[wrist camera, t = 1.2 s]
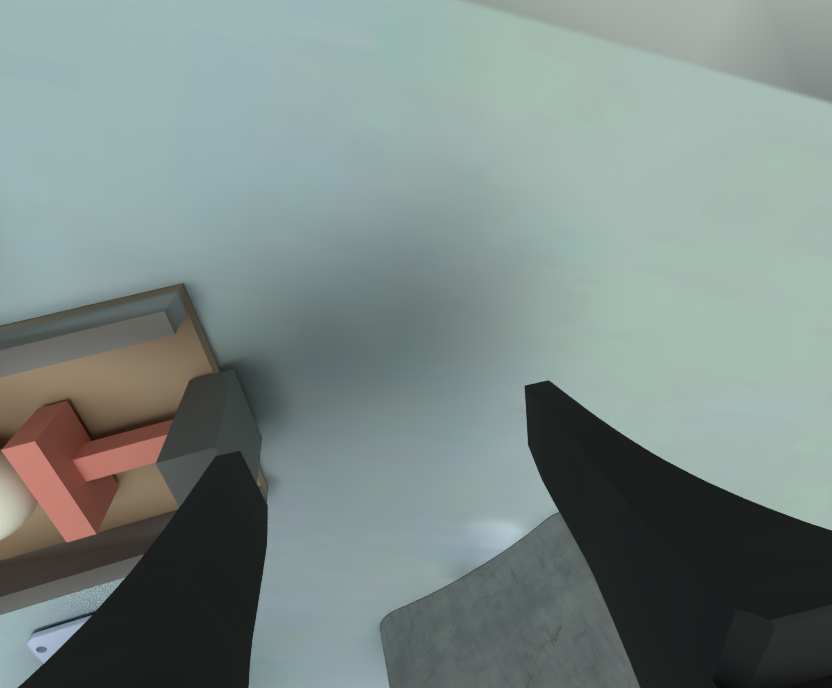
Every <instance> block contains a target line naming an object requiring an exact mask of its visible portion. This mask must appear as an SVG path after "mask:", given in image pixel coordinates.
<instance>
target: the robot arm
mask: <svg viewBox="0 0 832 688" xmlns="http://www.w3.org/2000/svg"><path fill="white" fill-rule="evenodd" d="M525 399H526V416H527V433H528V446H529V448H530V451H531V453H532V456H533V459H534V461H535V464H536V466H537V469H538V471H539V473H540V476H541V478H542V481H543V483H544V484H545V486H546V488H547V490H548V492H549V494H550V496H551V497H552V499H553V501H554V503H555V505H556V507H557V508H558V510H559V512H560V514H561V516H562V518H563V519H564V521H565V523H566V525H567V527H568V528H569V530H570V532H571V534H572V536H573V538H574V539H575V541H576V543H577V545H578V547H579V548H580V550H581V552H582V554H583V556H584V558H585V560H586V562H587V564H588V566H589V568H590V570H591V572H592V574H593V576H594V578H595V580H596V583H597V585H598V587H599V589H600V592H601V594H602V596H603V599H604V601H605V603H606V606H607V608H608V610H609V613H610V615H611V617H612V620H613V622H614V625H615V627H616V629H617V632H618V634H619V637H620V639H621V641H622V644H623V646H624V649H625V651H626V653H627V656H628V658H629V661H630V663H631V666H632V668H633V671H634V673H635V676H636V679H637V681H638V684H639V686H640V688H832V530H828V529H825V528H822V527H819V526H816V525H813V524H810V523H807V522H804V521H801V520H799V519H796V518H793V517H790V516H788V515H785V514H782V513H780V512H777V511H774V510H772V509H769V508H766V507H764V506H761V505H759V504H757V503H754V502H752V501H749V500H747V499H744V498H742V497H740V496H737V495H735V494H733V493H731V492H728V491H726V490H724V489H722V488H719V487H717V486H715V485H713V484H710V483H708V482H706V481H704V480H702V479H700V478H698V477H696V476H694V475H692V474H690V473H688V472H686V471H684V470H682V469H680V468H679V467H677V466H675V465H673V464H671V463H669V462H667V461H665V460H663V459H662V458H660V457H658V456H656V455H655V454H653V453H651V452H650V451H648V450H646V449H645V448H643V447H642V446H640V445H638V444H637V443H635V442H633V441H632V440H630V439H629V438H627V437H626V436H624V435H623V434H621V433H620V432H618V431H617V430H615V429H614V428H612V427H611V426H610V425H608V424H607V423H605V422H604V421H602V420H601V419H599V418H598V417H597V416H595V415H594V414H592V413H591V412H590V411H588V410H587V409H586V408H584V407H583V406H582V405H580V404H579V403H578V402H576V401H575V400H574V399H572V398H571V397H570V396H569V395H567V394H566V393H565V392H563V391H562V390H561V389H559V388H558V387H557V386H556V385H554V384H553V383H551V382H550V381H549V380H548V381H543V382H539V383H535V384H530V385H526V386H525ZM267 520H268V505H267V503H266V501H265V499H264V497H263V495H262V493H261V491H260V489H259V487H258V485H257V483H256V481H255V479H254V477H253V475H252V473H251V471H250V469H249V467H248V465H247V463H246V461H245V459H244V457H243V455H242V453H241V451H236V452H232V453H228V454H223V455H219V456H215V458H214V459H213V461H212V462H211V463H210V465H209V466H208V467H207V469H206V470H205V472H204V473H203V475H202V476H201V478H200V479H199V480H198V482H197V483H196V485H195V486H194V488H193V489H192V490H191V492H190V493H189V495H188V496H187V498H186V499H185V501H184V502H183V503H182V505H181V506H180V507H179V509H178V510H177V512H176V513H175V514H174V516H173V517H172V519H171V520H170V521H169V523H168V524H167V526H166V527H165V528H164V530H163V531H162V532H161V534H160V535H159V536H158V537H157V539H156V540H155V541H154V543H153V544H152V545H151V546H150V548H149V549H148V550H147V551H146V553H145V554H144V555H143V557H142V558H141V559H140V560H139V562H138V563H137V564H136V566H135V567H134V568H133V569H132V571H131V572H130V573H129V574H128V575H127V577H126V578H125V579H124V580H123V581H122V582H121V584H120V585H119V586H118V587H117V588H116V589H115V591H114V592H113V593H112V594H111V595H110V596H109V597H108V598H107V599H106V600H105V602H104V603H103V604H102V605H101V606H100V607H99V608H98V609H97V610H96V612H95V613H94V614H93V615H91V616H88V617H85V618H81V619H78V620H75V621H72V622H68V623H65V624H62V625H59V626H55V627H52V628H49V629H46V630H42V631H39V632H36V633H34V634H32V635H31V636H30V637H29V639H28V641H27V646H28V647H29V648H30V650H31V651H32V652H33V653H34V654H35V655H36V656H37V657H38V659H39V660H40V661H41V662H42V663H43V665H42V666H41V667H40V668H39V669H38V670H37V671H36V672H35V673H33V674H32V675H31V676H30V677H29V678H28V679H27V680H26V681H25V682H24V683H23V684H22V685H20V686H19V687H18V688H248V686H249V669H250V656H251V647H252V639H253V632H254V626H255V619H256V613H257V607H258V600H259V594H260V587H261V581H262V575H263V568H264V561H265V554H266V547H267Z"/></svg>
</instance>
